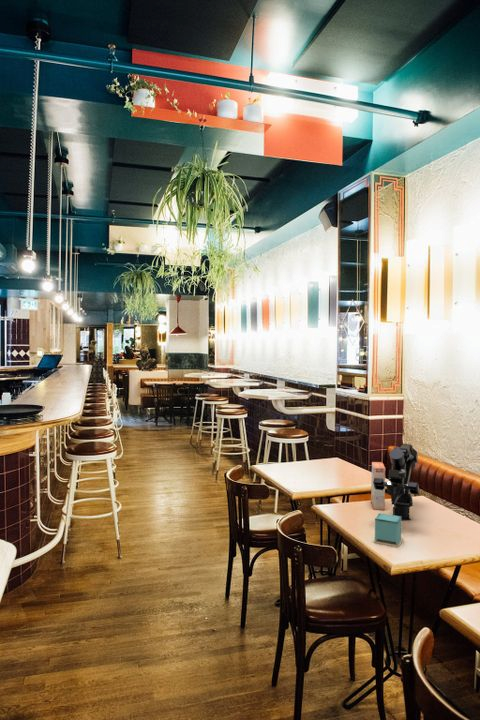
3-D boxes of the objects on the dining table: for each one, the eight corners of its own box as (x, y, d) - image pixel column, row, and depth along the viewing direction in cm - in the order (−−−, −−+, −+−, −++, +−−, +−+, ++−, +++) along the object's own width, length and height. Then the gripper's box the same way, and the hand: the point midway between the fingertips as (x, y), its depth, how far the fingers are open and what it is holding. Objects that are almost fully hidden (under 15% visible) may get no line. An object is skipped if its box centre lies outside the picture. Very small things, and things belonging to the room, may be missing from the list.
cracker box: (385, 510, 239) (385, 468, 239) (372, 509, 240) (373, 467, 240) (382, 502, 253) (383, 461, 253) (370, 501, 254) (371, 461, 254)
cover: (378, 534, 205) (379, 513, 205) (401, 537, 201) (401, 516, 201) (374, 540, 198) (375, 518, 198) (397, 544, 194) (398, 522, 193)
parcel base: (378, 534, 207) (378, 532, 207) (403, 538, 202) (403, 536, 202) (373, 542, 198) (373, 540, 198) (399, 547, 193) (399, 544, 193)
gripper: (374, 459, 218) (368, 490, 208) (418, 464, 209) (414, 496, 200) (377, 473, 225) (372, 503, 215) (420, 478, 217) (417, 510, 207)
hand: (393, 503), depth 209 cm, fingers closed
